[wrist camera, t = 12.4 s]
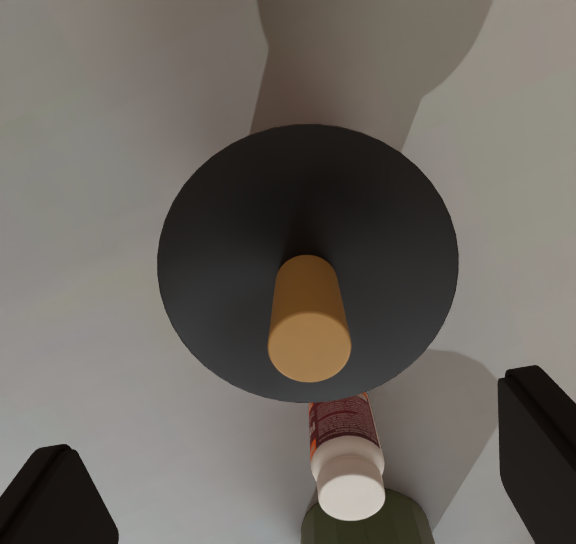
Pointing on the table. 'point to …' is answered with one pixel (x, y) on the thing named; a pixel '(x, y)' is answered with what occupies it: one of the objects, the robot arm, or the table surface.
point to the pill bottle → (346, 457)
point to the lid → (307, 263)
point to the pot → (371, 525)
